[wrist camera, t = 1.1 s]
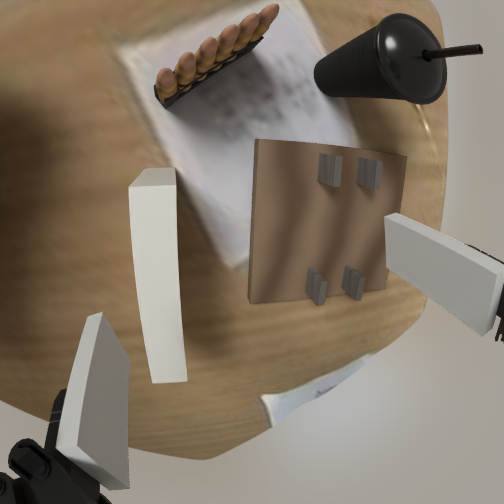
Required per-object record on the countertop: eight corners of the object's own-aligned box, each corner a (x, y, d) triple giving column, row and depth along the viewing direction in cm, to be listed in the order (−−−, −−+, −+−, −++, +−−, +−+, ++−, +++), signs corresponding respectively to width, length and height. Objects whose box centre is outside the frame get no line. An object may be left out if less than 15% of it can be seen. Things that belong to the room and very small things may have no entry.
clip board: (247, 297, 36) (258, 320, 32) (255, 138, 30) (269, 139, 26) (378, 284, 41) (399, 300, 37) (399, 155, 35) (425, 159, 30)
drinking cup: (287, 75, 28) (424, 24, 10) (327, 34, 27) (463, -21, 9) (336, 122, 31) (487, 131, 13) (371, 80, 30) (516, 69, 12)
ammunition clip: (241, 37, 26) (280, -10, 15) (252, 50, 27) (295, 9, 16) (154, 95, 26) (143, 69, 15) (165, 109, 27) (161, 90, 16)
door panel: (154, 310, 34) (152, 383, 23) (145, 168, 28) (128, 187, 18) (179, 309, 35) (187, 381, 24) (174, 167, 29) (176, 185, 18)
